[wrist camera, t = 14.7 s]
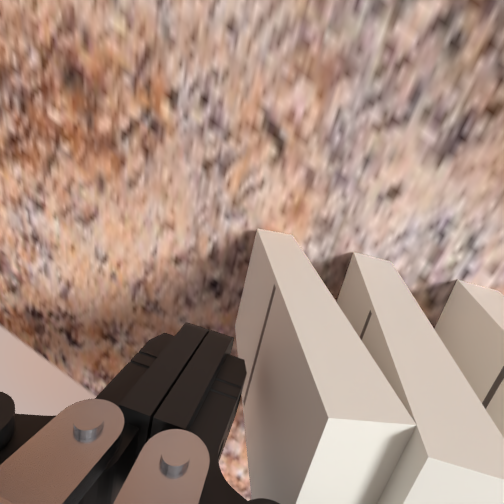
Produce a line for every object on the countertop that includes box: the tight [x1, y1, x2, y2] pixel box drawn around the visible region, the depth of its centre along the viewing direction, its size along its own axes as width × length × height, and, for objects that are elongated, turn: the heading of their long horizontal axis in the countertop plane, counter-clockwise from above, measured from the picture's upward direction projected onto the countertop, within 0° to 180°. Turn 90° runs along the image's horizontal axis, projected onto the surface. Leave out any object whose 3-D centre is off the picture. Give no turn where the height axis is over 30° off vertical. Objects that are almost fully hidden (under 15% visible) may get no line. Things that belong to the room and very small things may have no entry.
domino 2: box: [337, 252, 504, 504], centre depth 11 cm, size 2×5×10 cm, turn 168°
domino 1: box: [235, 229, 416, 504], centre depth 11 cm, size 2×5×10 cm, turn 167°
